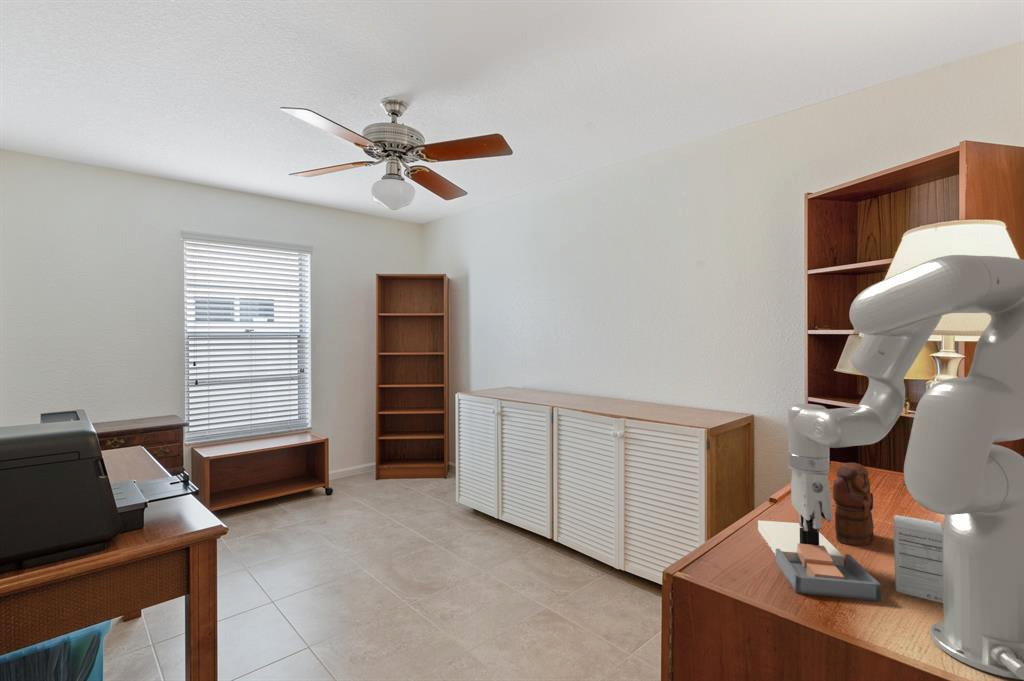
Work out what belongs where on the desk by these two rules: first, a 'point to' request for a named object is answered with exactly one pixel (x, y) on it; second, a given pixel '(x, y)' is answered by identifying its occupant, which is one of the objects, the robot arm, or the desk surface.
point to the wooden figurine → (853, 505)
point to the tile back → (813, 554)
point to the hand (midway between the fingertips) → (809, 547)
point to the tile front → (823, 571)
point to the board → (792, 540)
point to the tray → (831, 580)
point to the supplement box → (918, 557)
